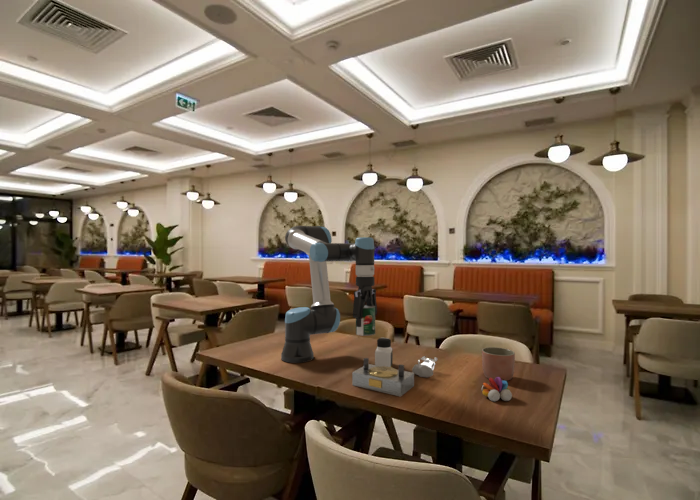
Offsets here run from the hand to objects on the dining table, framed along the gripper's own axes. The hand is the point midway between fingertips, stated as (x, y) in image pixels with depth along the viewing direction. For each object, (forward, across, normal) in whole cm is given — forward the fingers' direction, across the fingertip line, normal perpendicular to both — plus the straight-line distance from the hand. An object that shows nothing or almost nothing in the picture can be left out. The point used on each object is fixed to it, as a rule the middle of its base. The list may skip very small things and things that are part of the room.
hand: (365, 333), depth 148 cm
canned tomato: (+1, 0, 0) cm, 1 cm away
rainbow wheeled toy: (+20, +10, -47) cm, 52 cm away
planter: (+19, +31, -44) cm, 57 cm away
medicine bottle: (+18, +20, +2) cm, 27 cm away
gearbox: (+19, -2, -9) cm, 21 cm away
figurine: (+19, +20, -17) cm, 32 cm away
